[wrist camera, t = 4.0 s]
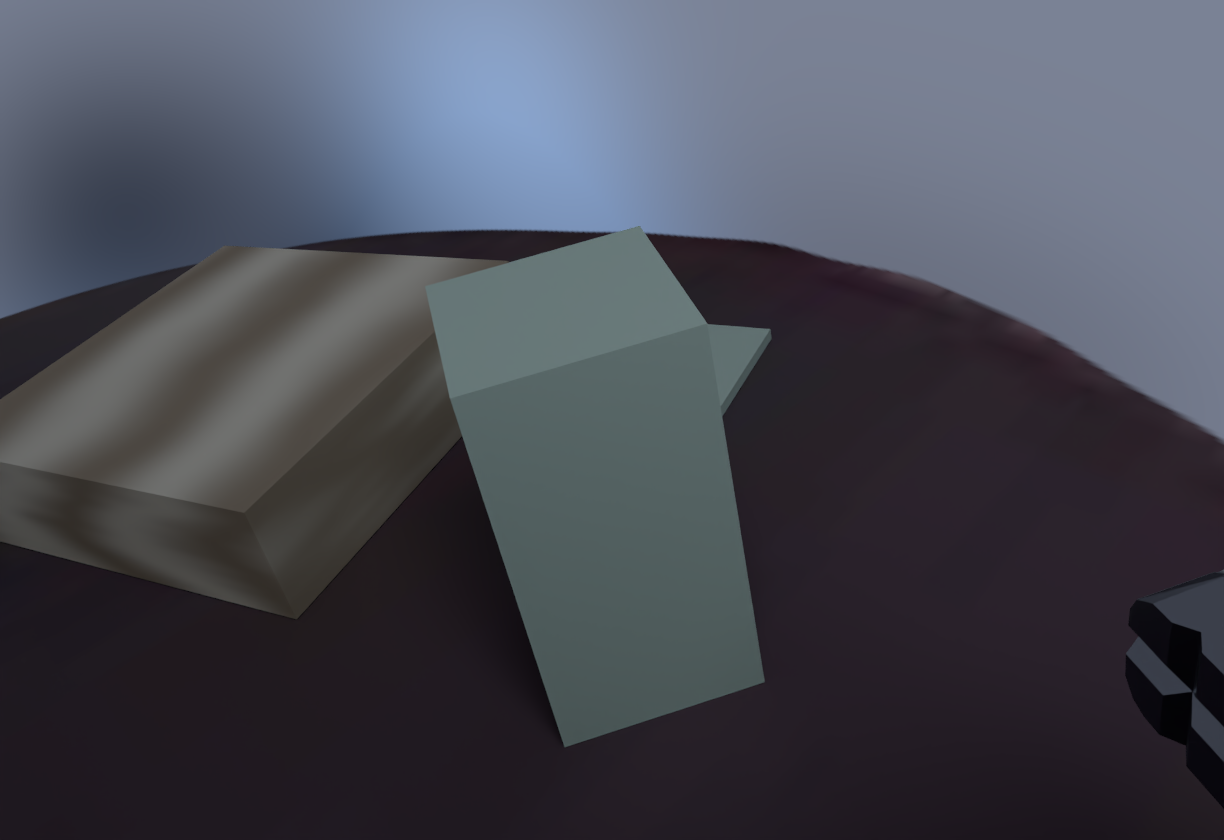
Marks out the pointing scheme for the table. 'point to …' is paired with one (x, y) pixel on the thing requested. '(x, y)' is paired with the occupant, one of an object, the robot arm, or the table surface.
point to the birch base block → (237, 425)
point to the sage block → (603, 477)
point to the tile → (735, 357)
